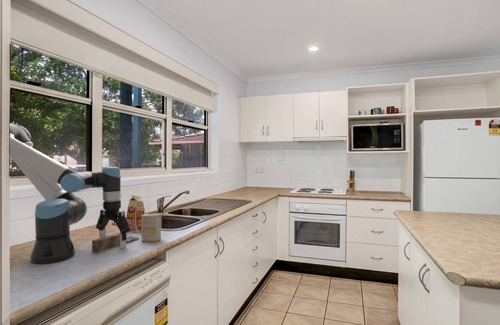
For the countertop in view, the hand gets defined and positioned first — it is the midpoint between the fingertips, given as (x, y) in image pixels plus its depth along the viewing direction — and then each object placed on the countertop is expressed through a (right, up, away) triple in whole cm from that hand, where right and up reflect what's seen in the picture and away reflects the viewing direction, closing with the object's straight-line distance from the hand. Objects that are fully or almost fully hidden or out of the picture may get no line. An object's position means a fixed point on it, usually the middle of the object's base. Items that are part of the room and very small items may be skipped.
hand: (112, 245), depth 136 cm
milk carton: (-1, 0, +30) cm, 30 cm away
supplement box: (+15, 0, +8) cm, 17 cm away
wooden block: (+1, 0, +2) cm, 2 cm away
